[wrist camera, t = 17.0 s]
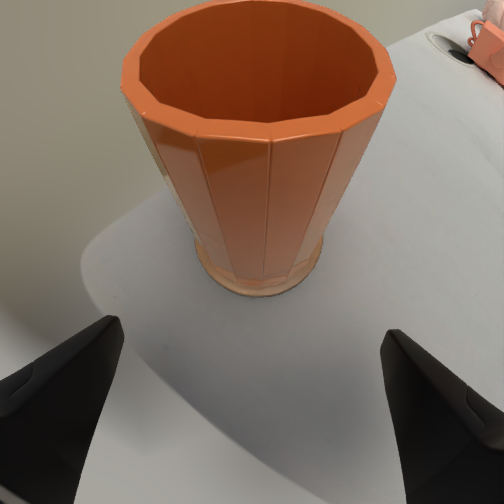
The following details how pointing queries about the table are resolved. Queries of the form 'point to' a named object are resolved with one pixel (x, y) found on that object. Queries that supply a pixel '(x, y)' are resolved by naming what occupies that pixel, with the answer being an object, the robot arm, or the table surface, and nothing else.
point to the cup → (257, 124)
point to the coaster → (260, 290)
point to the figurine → (494, 13)
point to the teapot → (488, 49)
